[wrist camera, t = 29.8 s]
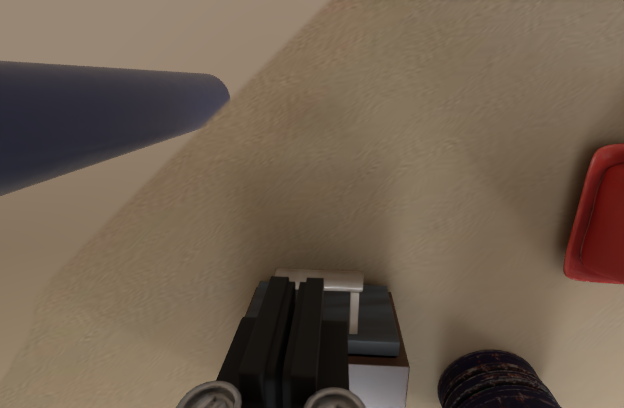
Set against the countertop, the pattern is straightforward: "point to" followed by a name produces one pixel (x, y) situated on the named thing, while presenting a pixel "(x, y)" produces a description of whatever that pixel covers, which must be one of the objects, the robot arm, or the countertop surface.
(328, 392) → the robot arm
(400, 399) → the cabinet
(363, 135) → the countertop surface
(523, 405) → the storage jar
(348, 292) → the drawer
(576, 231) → the butter dish
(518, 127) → the countertop surface
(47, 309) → the countertop surface
